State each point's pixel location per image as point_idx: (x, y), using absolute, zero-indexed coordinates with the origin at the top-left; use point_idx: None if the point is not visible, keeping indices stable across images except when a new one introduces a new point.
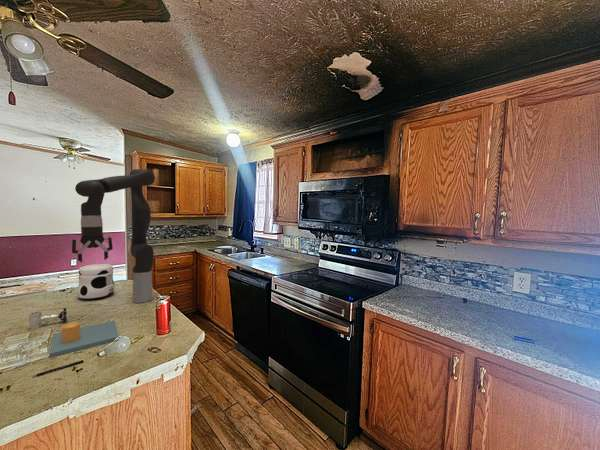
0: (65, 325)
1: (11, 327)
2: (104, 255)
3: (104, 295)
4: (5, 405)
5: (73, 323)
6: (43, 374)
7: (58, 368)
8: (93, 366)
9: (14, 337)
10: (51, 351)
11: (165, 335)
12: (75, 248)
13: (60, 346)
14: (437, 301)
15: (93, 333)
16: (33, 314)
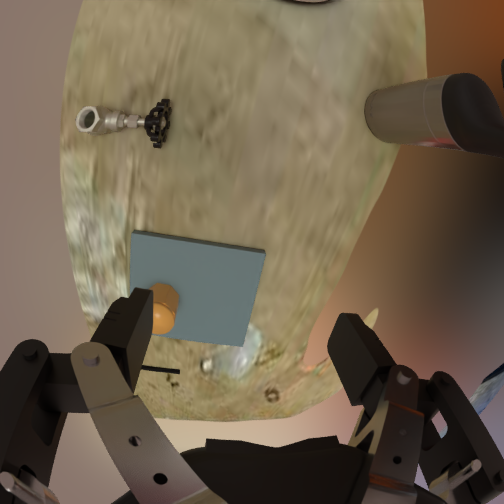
0: None
1: (71, 87)
2: (340, 377)
3: (311, 1)
4: None
5: (160, 316)
6: None
7: (149, 370)
8: (191, 388)
9: (71, 166)
10: None
11: (309, 369)
12: (55, 443)
13: None
14: (480, 406)
15: (205, 299)
16: (82, 131)
